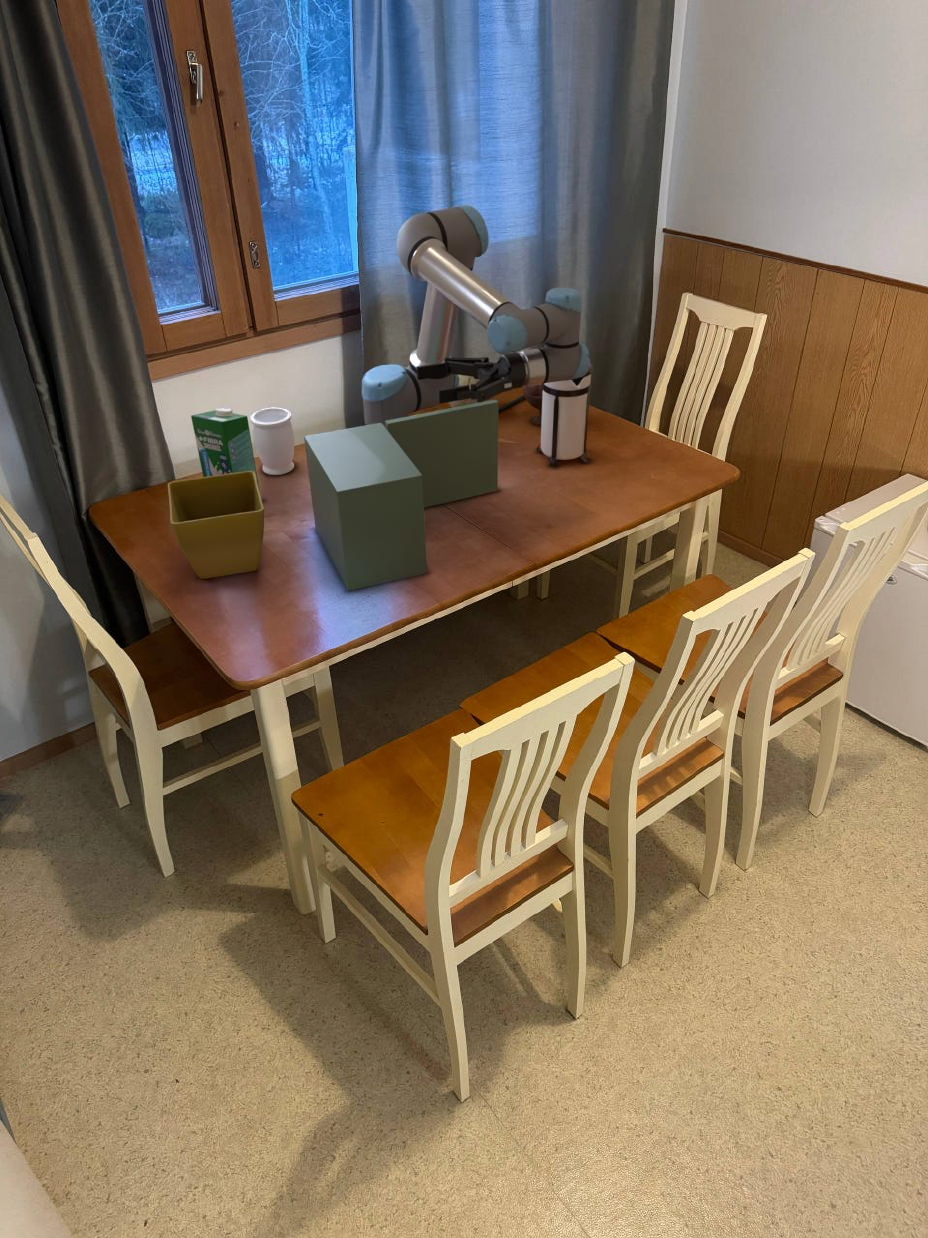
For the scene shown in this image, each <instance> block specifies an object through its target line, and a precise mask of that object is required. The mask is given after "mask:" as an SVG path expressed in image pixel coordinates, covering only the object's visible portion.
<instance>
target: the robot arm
mask: <svg viewBox="0 0 928 1238" xmlns="http://www.w3.org/2000/svg"><path fill="white" fill-rule="evenodd" d="M485 221H486V220H485V219H484V217H483V216H482V214H481V213H480V211H478V209H476V208H475V207H473V206H472V205H468V204H464V205H453V206H452V207H448V208H443V209H437V210H432V211H427V212H420V213H416V214H414V215H412V216H410V217H409V218H408V219H406V220H405V221H404V222H403V224H402V225H401V226H400V228H399V230H398V234H397V237H396V252H397V256H398V259H399V261H400V263H401V265H402V266H403V268H404V269H405V271H407V273H408V274H410V275H411V276H412V277H413V278H414V279H416V280H417V281H420V282H427V286H426V292H425V299H424V305H423V311H422V316H421V322H420V330H419V335H418V341H417V348H416V349H414V350H413V351H411V353H410V356H409V361H408V365H407V366H406V367H404V366H402V365H400V364H396V363H389V364H382V365H378V366H375V367H373V368H370V369H369V370H368V371H366V372H365V374H364V375H363V377H362V379H361V397H362V406H363V417H364V426H365V425H371V424H376V423H382V424H383V425H384V427H385V421H387V420H392V419H397V418H402V417H408V416H410V415H411V414H412V413H416V412H419V411H422V410H426V409H429V408H432V407H435V406H440V405H442V404H446V403H447V404H448V402H453V401H459V400H465V399H470V398H471V399H472V400H475V399H477V402H483V401H485V400H487V399H490V398H492V397H493V398H495V396H498V395H501V394H502V393H505V392H510V391H513V390H515V389H520V388H523V387H525V388H526V387H527V386H530V387H534V385H539V384H544V383H550V382H557V381H564V380H565V381H567V380H571V379H575V378H579V377H582V376H584V375H585V374H586V373H587V372H588V369H589V366H590V363H591V359H590V352H589V349H588V346H587V345H585V343H582V342H580V333H581V318H582V313H583V311H582V295H581V293H580V292H579V290H577V289H576V288H575V289H574V288H571V287H566V286H565V287H563V286H561V287H553V288H551V289H549V290H547V292H546V295H545V300H544V302H545V303H542V304H539V305H536V306H531V307H528V308H524V309H522V308H520V307H519V306H517V305H516V304H514V303H513V301H511V300H509V299H508V298H507V296H504V295H503V294H502V293H500V292H499V291H498V290H497V289H495V288H494V287H493V286H491V284H489V283H488V282H486V281H485V280H484V279H482V278H481V277H480V276H478V275H477V274H476V273H475V272H473V270H474V266H475V262H476V261H475V260H476V258H480V257H482V255H484V254H485V253H487V250H488V248H489V242H490V241H489V240H490V238H489V237H490V236H489V229H488V226H487V224H486V222H485ZM459 309H461V311H463V312H464V313H466V314H467V315H468V316H469V317H470V318H472V319H473V320H474V321H475V322H476V323H478V324H479V325H480V326H482V327H483V328H484V329H485V330H486V336H487V340H488V343H489V344H491V348H492V350H494V351H495V352H496V353H498V354H500V357H499V359H498V361H497V362H491V361H490V358H489V357H488V356H484V357H452V356H451V351H452V345H453V340H454V335H455V329H456V325H457V321H458V320H457V319H458V316H459V315H458V314H459ZM540 344H544V347H539V348H532V349H528V348H531V347H534V346H537V345H540ZM525 349H527V350H525ZM458 375H465V376H473V377H474V379H480V380H479V381H478V382H477V383H475V384H471V389H470V388H469V385H464V386H459V376H458ZM483 393H484V395H483ZM524 399H526V398H525V396H524V394H522V395H521V396H519V397H517V398H515V399H513V400H511V401H509V402H508V403H505V404H503V405H502V406H500V407H499V406H498V413H499V412H501V411H503V410H506V409H507V408H510V407H511V406H513V405H515V404H517V403H519V402H520V401H522V400H524ZM385 428H386V427H385Z"/></svg>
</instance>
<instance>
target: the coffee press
mask: <svg viewBox="0 0 928 1238" xmlns="http://www.w3.org/2000/svg"><path fill="white" fill-rule="evenodd" d="M593 370H594V367H593V365H592V363H591V362H590V366H589V369H588V372H587V373H586V374H585V375H584V376H582V377H579V378H575V379H571V380H567V381H565V380H564V381H557V382H550V383H544V384H542V389H543V396H542V423H541V426H540V443H539V445H538V446H537V447H536V452H537V453H543V454H544V455H545V456H546V457H548V458H550V460H549V467H552V468H556V466H557V463H558V461H559V460H560V461H568V460H574V459H577V458H580V460H581V461H582V462H583V463H588V462H589V460H590V457H591V456H590V455H589V453H588V451H587V440H588V423H589V412H590V411H589V410H590V399H591V398H590V394H591V393H590V391H591V389H592V380H591V379H592V374H593ZM583 455H584V456H585V457H584V456H583Z"/></svg>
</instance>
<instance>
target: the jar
mask: <svg viewBox="0 0 928 1238" xmlns="http://www.w3.org/2000/svg"><path fill="white" fill-rule="evenodd" d="M249 419H250V423H251V424H252V439H253V443H254V447H255V449H256V453H257V456H258V458H259V461H260V462H261V464H262V468H261V470H262V472H264V473H265V474H267V475H269V476H270V475H272V476H281V475H285V474H287V473H290V472H291V471H293V469H294V468H295V462H293V459H294V455H295V433H294V428H293V424H292V421H291V420H292V412H291V411H290V410H288V409H286V408H283V407H267V408H262V409H259V410H256V411H254V412H253V413H252V414H251V415H250V418H249Z"/></svg>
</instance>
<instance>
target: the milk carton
mask: <svg viewBox="0 0 928 1238" xmlns="http://www.w3.org/2000/svg"><path fill="white" fill-rule="evenodd" d="M190 418H191V423H192V428H193V434H194V438H195V442H196V448H197V452H198V457H199V462H200V463H199V464H200V468H201V472H202V473H201V474H202V477H209V476H216V475H223V474H230V473H237V472H244V471H254V472H255V475H256V480H257V484H258V488H259V489H260V485H259V478H258V474H257V467H256V462H255V461H256V460H255V455H254V450H253V449H254V448H253V443H252V436H251V430H250V425H249V419H248V415H243V414H240V413H239V414H238V413H233V409H232V408H228V407H217V408H214V410H210V411H206V412H202V413H197V414H196V413H195V414H192V415H190ZM259 492H260V493H261V491H260V490H259Z"/></svg>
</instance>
